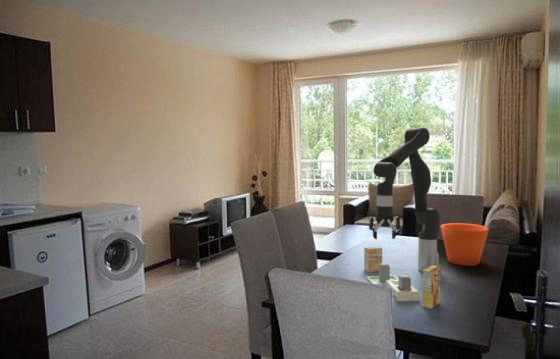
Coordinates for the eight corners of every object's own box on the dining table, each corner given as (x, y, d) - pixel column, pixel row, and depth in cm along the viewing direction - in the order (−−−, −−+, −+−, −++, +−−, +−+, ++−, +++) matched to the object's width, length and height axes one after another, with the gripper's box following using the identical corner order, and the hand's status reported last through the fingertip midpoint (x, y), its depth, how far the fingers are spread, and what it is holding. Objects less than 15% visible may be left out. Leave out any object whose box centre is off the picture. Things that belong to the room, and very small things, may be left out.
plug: (387, 280, 198) (387, 262, 197) (389, 282, 194) (389, 264, 193) (378, 280, 198) (378, 262, 197) (381, 283, 194) (381, 265, 193)
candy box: (430, 300, 173) (431, 265, 172) (440, 303, 170) (441, 266, 169) (421, 306, 167) (422, 269, 166) (432, 309, 164) (432, 271, 163)
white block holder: (385, 288, 189) (385, 268, 188) (404, 288, 189) (405, 267, 188) (397, 301, 173) (397, 279, 172) (418, 300, 173) (418, 278, 172)
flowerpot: (437, 264, 227) (437, 229, 226) (442, 254, 249) (442, 221, 248) (487, 270, 215) (488, 232, 214) (488, 258, 237) (489, 224, 236)
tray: (394, 279, 202) (394, 275, 202) (403, 287, 190) (403, 283, 190) (366, 280, 201) (366, 276, 201) (373, 288, 189) (373, 284, 189)
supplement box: (368, 274, 211) (368, 249, 210) (363, 271, 216) (363, 247, 215) (382, 272, 213) (382, 247, 213) (378, 270, 218) (378, 245, 217)
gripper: (396, 203, 197) (396, 236, 198) (367, 204, 197) (367, 237, 198) (402, 205, 190) (401, 240, 191) (371, 206, 189) (371, 240, 190)
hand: (384, 238), depth 194 cm, fingers open, 8 cm apart
